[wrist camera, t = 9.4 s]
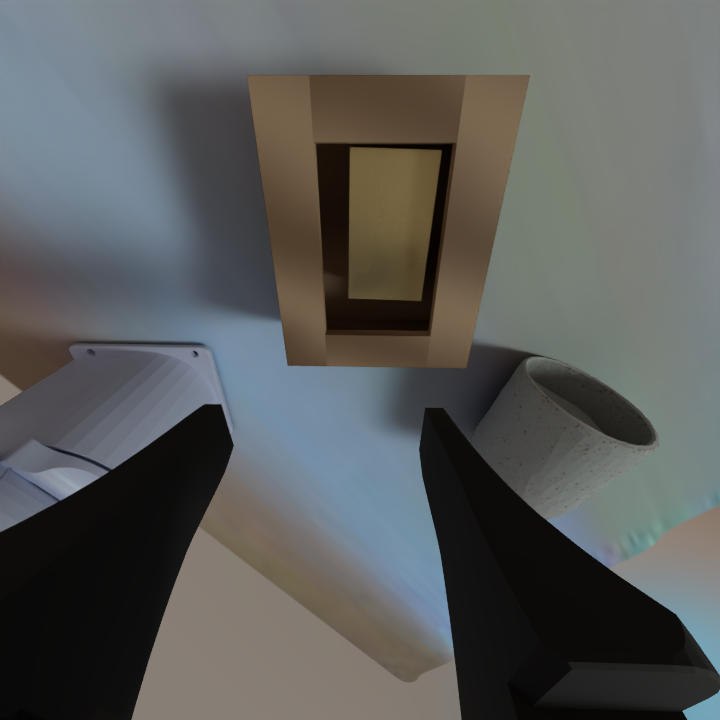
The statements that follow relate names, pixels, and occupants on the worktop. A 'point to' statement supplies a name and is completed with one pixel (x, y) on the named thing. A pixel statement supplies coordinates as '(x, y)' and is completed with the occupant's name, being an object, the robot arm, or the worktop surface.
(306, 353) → the walnut box
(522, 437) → the ceramic mug
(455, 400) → the worktop surface
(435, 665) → the worktop surface
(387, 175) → the yellow rectangular block
